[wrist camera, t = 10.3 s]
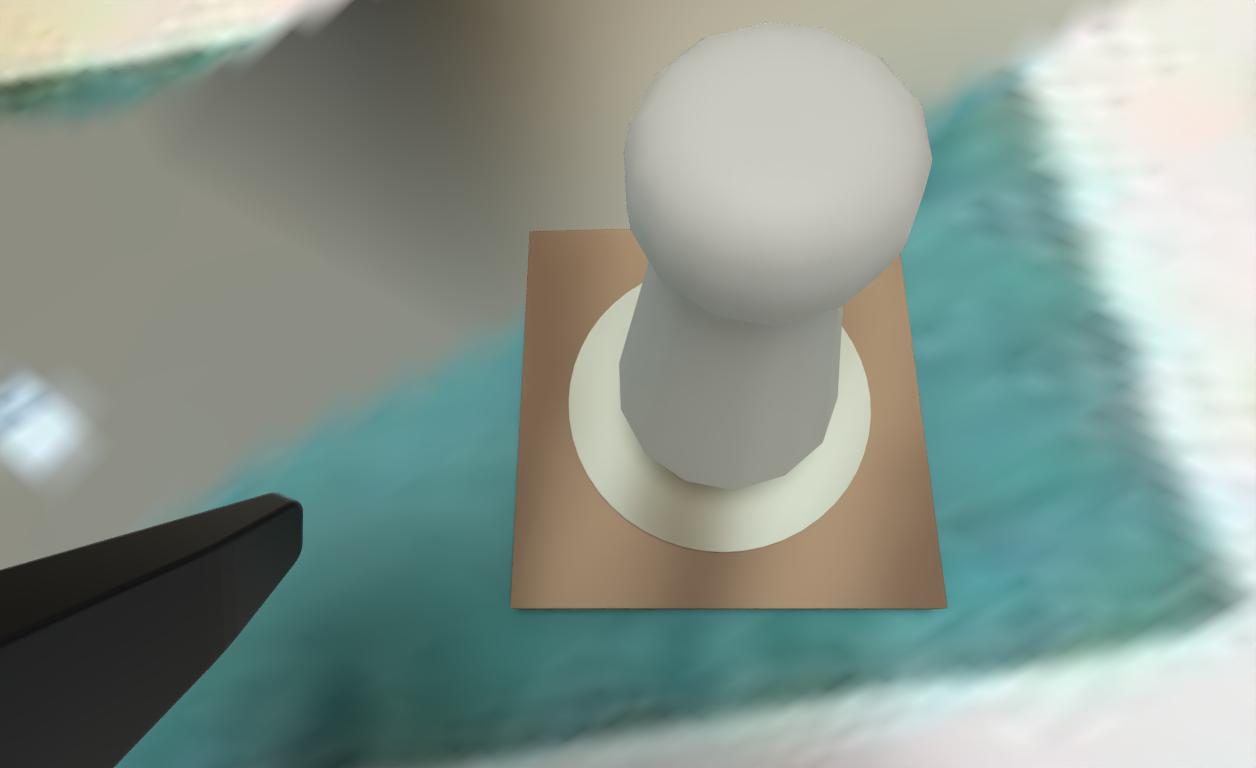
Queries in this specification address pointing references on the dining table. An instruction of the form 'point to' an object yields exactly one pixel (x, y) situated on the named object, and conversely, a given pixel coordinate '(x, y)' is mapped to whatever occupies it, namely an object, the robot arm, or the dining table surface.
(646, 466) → the brown coaster
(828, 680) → the dining table surface
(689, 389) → the salt shaker
